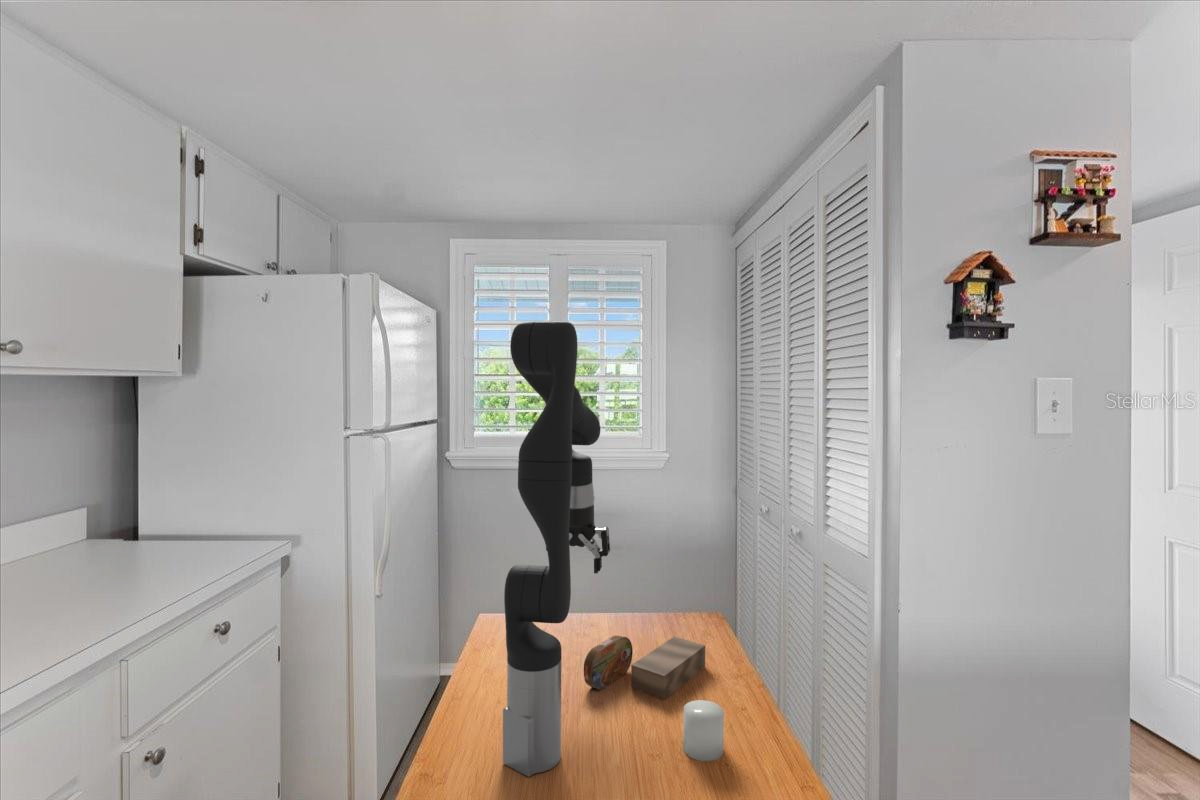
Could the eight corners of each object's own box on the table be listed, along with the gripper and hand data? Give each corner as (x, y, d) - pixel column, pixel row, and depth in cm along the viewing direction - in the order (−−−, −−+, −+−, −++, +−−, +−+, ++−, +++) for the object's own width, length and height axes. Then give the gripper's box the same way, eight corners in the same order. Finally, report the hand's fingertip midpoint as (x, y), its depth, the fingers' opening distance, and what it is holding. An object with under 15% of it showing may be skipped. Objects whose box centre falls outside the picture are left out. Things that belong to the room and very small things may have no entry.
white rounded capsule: (712, 766, 106) (712, 726, 106) (675, 751, 110) (676, 712, 110) (729, 747, 112) (730, 708, 111) (694, 733, 116) (695, 696, 115)
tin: (592, 696, 129) (592, 656, 128) (580, 691, 130) (580, 651, 130) (633, 669, 141) (634, 632, 140) (622, 665, 142) (622, 628, 142)
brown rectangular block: (663, 700, 127) (664, 676, 127) (631, 688, 132) (631, 664, 132) (704, 667, 142) (705, 645, 141) (674, 657, 146) (674, 636, 146)
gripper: (541, 505, 137) (543, 575, 139) (604, 509, 134) (605, 580, 136) (551, 494, 144) (552, 561, 147) (611, 498, 141) (612, 566, 144)
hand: (578, 570), depth 141 cm, fingers open, 8 cm apart
